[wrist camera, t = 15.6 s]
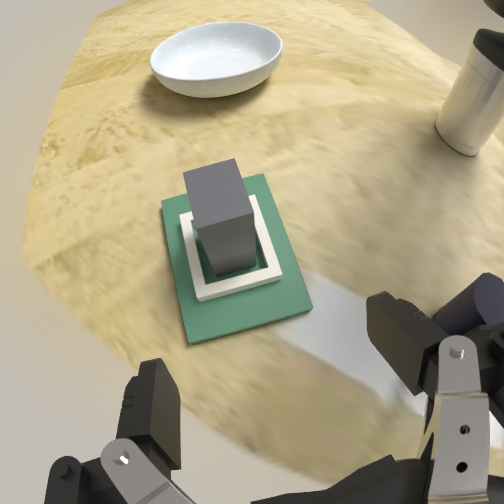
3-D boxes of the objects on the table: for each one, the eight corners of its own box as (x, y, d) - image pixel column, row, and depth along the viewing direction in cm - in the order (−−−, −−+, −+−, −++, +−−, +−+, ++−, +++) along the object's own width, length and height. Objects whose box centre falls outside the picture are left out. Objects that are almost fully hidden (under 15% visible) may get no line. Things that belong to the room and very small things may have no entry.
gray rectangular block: (204, 232, 31) (182, 171, 21) (241, 221, 31) (234, 157, 22) (216, 277, 29) (195, 228, 20) (256, 265, 29) (254, 212, 20)
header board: (163, 206, 34) (157, 193, 31) (263, 179, 35) (263, 165, 32) (191, 344, 27) (184, 340, 25) (311, 310, 28) (315, 303, 26)
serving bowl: (137, 86, 44) (127, 56, 38) (226, 41, 50) (223, 14, 43) (208, 135, 38) (201, 96, 32) (307, 77, 43) (311, 44, 37)
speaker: (457, 376, 24) (521, 354, 15) (418, 361, 26) (478, 334, 17) (470, 316, 28) (525, 278, 19) (434, 299, 29) (485, 254, 20)
